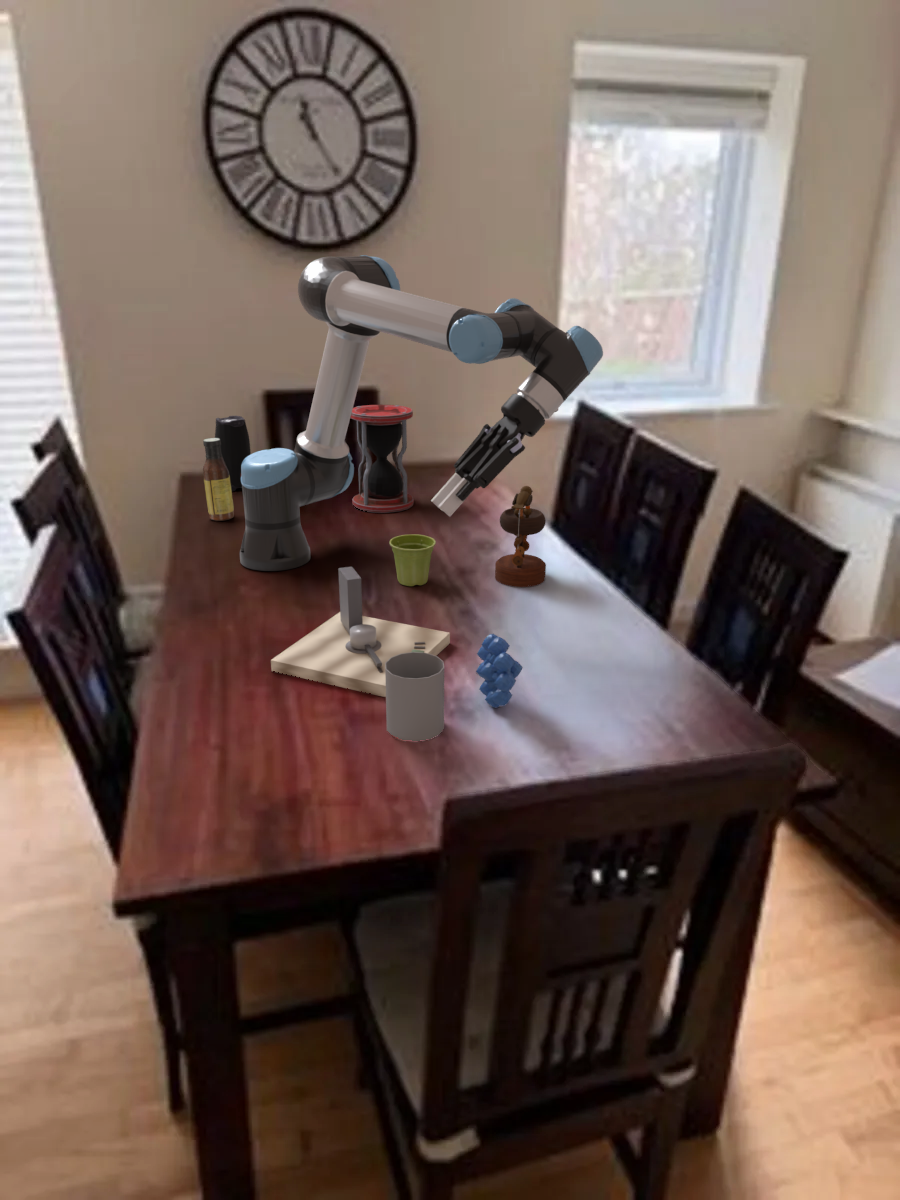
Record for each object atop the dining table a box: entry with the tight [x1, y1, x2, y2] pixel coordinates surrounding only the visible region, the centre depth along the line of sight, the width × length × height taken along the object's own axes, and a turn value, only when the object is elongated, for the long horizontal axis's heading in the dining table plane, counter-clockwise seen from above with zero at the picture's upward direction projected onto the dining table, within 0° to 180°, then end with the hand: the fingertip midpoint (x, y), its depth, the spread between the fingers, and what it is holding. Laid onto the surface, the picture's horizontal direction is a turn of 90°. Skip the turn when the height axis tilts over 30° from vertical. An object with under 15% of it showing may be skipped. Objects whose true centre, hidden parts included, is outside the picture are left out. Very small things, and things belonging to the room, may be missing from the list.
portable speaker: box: [214, 415, 252, 492], centre depth 244 cm, size 9×9×20 cm
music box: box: [494, 485, 547, 588], centre depth 181 cm, size 15×11×20 cm
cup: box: [385, 652, 445, 741], centre depth 126 cm, size 8×8×10 cm
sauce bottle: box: [202, 437, 235, 522], centre depth 217 cm, size 7×6×20 cm
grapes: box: [475, 633, 524, 709], centre depth 131 cm, size 12×7×12 cm, turn 16°
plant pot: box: [388, 533, 437, 587], centre depth 180 cm, size 9×9×9 cm
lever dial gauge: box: [337, 566, 382, 667], centre depth 146 cm, size 20×4×10 cm, turn 21°
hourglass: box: [350, 404, 415, 514], centre depth 228 cm, size 16×16×25 cm
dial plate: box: [270, 611, 451, 698], centre depth 148 cm, size 22×22×2 cm
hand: (440, 508), depth 152 cm, fingers open, 3 cm apart
